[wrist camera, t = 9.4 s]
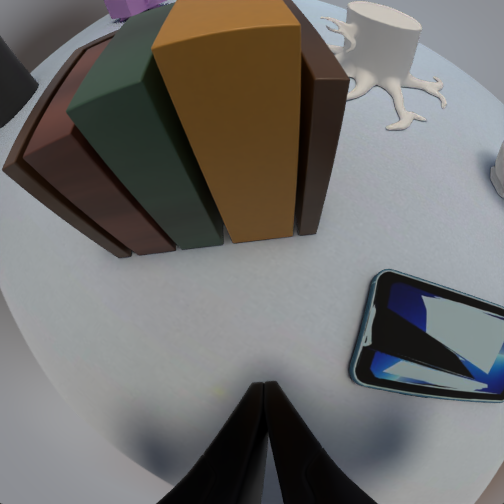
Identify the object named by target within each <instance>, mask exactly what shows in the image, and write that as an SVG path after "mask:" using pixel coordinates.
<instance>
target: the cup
mask: <svg viewBox="0 0 504 504" xmlns="http://www.w3.org/2000/svg"><path fill="white" fill-rule="evenodd" d="M490 179H491V181H492V183H493V185H494V187H495V189H496V191H497V193H498V194H499V195H500V196H501V197H502V198H504V141H503V143H502V145H501V148H500V150H499V153H498V156H497V158H496V161H495V166H492V167H491V172H490Z"/></svg>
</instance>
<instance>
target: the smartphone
mask: <svg viewBox="0 0 504 504" xmlns="http://www.w3.org/2000/svg"><path fill="white" fill-rule="evenodd" d="M349 371H350V376H351V378H352V380H353V381H354V382H355V383H357V384H359V385H361V386H364V387H369V388H374V389H379V390H385V391H389V392H396V393H399V394H404V395H411V396H413V395H415V396H418V397H425V398H428V397H430V398H438V399H447V400H458V401H470V402H489V403H502V402H504V307H503V306H500V305H497V304H495V303H492V302H489V301H486V300H483V299H480V298H477V297H475V296H472V295H469V294H466V293H463V292H460V291H457V290H454V289H451V288H448V287H445V286H442V285H439V284H436V283H433V282H430V281H427V280H424V279H421V278H418V277H415V276H412V275H408V274H405V273H402V272H399V271H396V270H393V269H384V270H382V271H381V272H379V273H378V274H377V275H376V276H375V277H374V278H373V280H372V283H371V288H370V292H369V297H368V301H367V306H366V310H365V314H364V318H363V322H362V326H361V330H360V333H359V337H358V341H357V344H356V348H355V351H354V354H353V358H352V361H351V364H350V370H349Z"/></svg>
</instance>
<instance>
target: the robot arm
mask: <svg viewBox="0 0 504 504" xmlns="http://www.w3.org/2000/svg"><path fill="white" fill-rule="evenodd" d="M268 437H269V438H270V443H271V448H272V452H273V457H274V462H275V466H276V471H277V475H278V480H279V484H280V489H281V493H282V497H283V502H284V504H378V503H376V502H375V501H374V500H373V499H372V498H371V497H370V496H368V495H367V494H366V493H365V492H364V491H363V490H362V489H360V488H359V487H358V486H357V485H356V484H355V483H354V482H353V481H352V480H351V479H349V478H348V477H347V476H346V475H345V474H344V472H343V471H342V470H341V469H340V468H339V467H338V466H337V465H336V464H335V463H334V461H333V460H332V459H331V458H330V456H329V455H328V454H327V452H326V451H325V450H324V448H322V446H321V445H320V443H319V442H318V441H317V439H316V438H315V436H314V435H313V434H312V432H311V431H310V429H309V428H308V427H307V425H306V424H305V422H304V421H303V419H302V418H301V417H300V415H299V414H298V412H297V411H296V409H295V408H294V406H293V405H292V403H291V402H290V400H289V399H288V398H287V396H286V395H285V393H284V392H283V390H282V389H281V387H280V386H279V384H278V383H277V381H267V382H265V383H263V382H256V383H252V384H251V385H250V386H249V388H248V390H247V391H246V393H245V394H244V396H243V397H242V399H241V400H240V402H239V403H238V405H237V406H236V408H235V409H234V411H233V412H232V414H231V415H230V417H229V418H228V420H227V421H226V423H225V424H224V426H223V427H222V428H221V430H220V431H219V433H218V434H217V436H216V437H215V438H214V440H213V441H212V443H211V444H210V445H209V447H208V448H207V449H206V451H205V452H204V455H202V456H201V457H200V458H199V460H198V461H197V463H196V464H195V465H194V466H193V468H192V469H191V470H190V471H189V472H188V474H187V475H186V476H185V477H184V478H183V479H182V480H181V481H180V482H179V483H178V484H177V485H176V486H175V487H174V488H173V489H172V490H171V491H170V492H169V493H168V494H166V495H165V496H164V497H163V498H162V499H161V500H160V501H159V502H158V503H156V504H261V499H262V491H263V483H264V475H265V466H266V457H267V448H268ZM0 504H1V503H0ZM503 504H504V503H503Z"/></svg>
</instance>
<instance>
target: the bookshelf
mask: <svg viewBox="0 0 504 504" xmlns="http://www.w3.org/2000/svg"><path fill="white" fill-rule="evenodd" d="M283 1H284V3H285V4H286V5H287V7H288V8H289V9H290V10H291V12H292V13H293V14H294V16H295V17H296V19H297V20H298V21H299V23H300V24H301V98H300V128H299V150H298V169H297V185H296V200H295V216H296V221H297V227H298V233H299V235H308V234H316V232H317V228H318V224H319V221H320V217H321V213H322V209H323V205H324V201H325V197H326V193H327V189H328V185H329V181H330V176H331V172H332V168H333V163H334V159H335V154H336V150H337V145H338V140H339V136H340V131H341V126H342V121H343V116H344V111H345V105H346V100H347V94H348V89H349V83H350V79H349V77H348V75H347V74H346V72H345V71H344V69H343V68H342V66H341V64H340V63H339V61H338V60H337V58H336V57H335V55H334V54H333V53H332V51H331V50H330V48H329V47H328V45H327V44H326V43H325V41H324V40H323V39H322V37H321V36H320V35H319V33H318V32H317V31H316V29H315V28H314V27H313V25H312V24H311V23H310V22H309V20H308V19H307V18H306V17H305V15H304V14H303V13H302V12H301V11H300V10H299V8H298V7H297V6H296V5H295V4H294V3H293V1H292V0H283ZM174 4H175V3H171V4H168V5H164V6H161V7H158V8H154V9H151V10H148V11H145V12H142V13H140V14H137V15H134V16H131V17H130V18H129V19H128V20H127V21H126V22H125V23H124V24H123V26H122V27H121V28H120V29H119V30H116V31H114V32H112V33H109V34H107V35H105V36H103V37H100V38H98V39H96V40H94V41H92V42H90V43H88V44H86V45H84V46H82V47H80V48H78V49H76V50H75V51H74V52H73V53H72V55H71V56H70V57H69V58H68V60H67V61H66V62H65V63H64V65H63V66H62V67H61V68H60V70H59V71H58V72H57V74H56V75H55V77H54V78H53V79H52V81H51V82H50V84H49V85H48V86H47V88H46V89H45V91H44V92H43V94H42V95H41V97H40V98H39V100H38V102H37V103H36V105H35V106H34V108H33V110H32V111H31V113H30V115H29V116H28V118H27V120H26V122H25V123H24V125H23V127H22V129H21V131H20V133H19V134H18V136H17V138H16V140H15V142H14V144H13V146H12V148H11V151H10V153H9V155H8V157H7V159H6V161H5V164H4V166H3V168H2V171H3V172H4V173H6V174H7V175H8V176H9V177H10V178H11V179H13V180H14V181H15V182H16V183H17V184H19V185H20V186H21V187H22V188H23V189H25V190H26V191H27V192H28V193H30V194H31V195H32V196H33V197H35V198H36V199H37V200H38V201H40V202H41V203H42V204H43V205H45V206H46V207H47V208H49V209H50V210H51V211H53V212H54V213H55V214H57V215H58V216H59V217H61V218H62V219H63V220H65V221H66V222H67V223H69V224H70V225H71V226H73V227H74V228H76V229H77V230H78V231H80V232H81V233H83V234H84V235H85V236H87V237H88V238H90V239H91V240H93V241H94V242H95V243H97V244H98V245H100V246H101V247H103V248H104V249H106V250H107V251H109V252H110V253H112V254H113V255H115V256H116V257H118V258H122V257H129V256H131V250H132V251H133V252H135V253H136V254H137V255H145V254H153V253H160V252H168V251H175V250H176V244H177V245H178V246H179V247H180V248H181V249H182V250H183V249H191V248H199V247H207V246H215V245H222V244H223V223H222V217H221V215H220V212H219V210H218V208H217V205H216V203H215V201H214V198H213V196H212V194H211V192H210V189H209V187H208V185H207V182H206V180H205V178H204V175H203V173H202V171H201V168H200V166H199V164H198V161H197V159H196V157H195V154H194V152H193V150H192V147H191V145H190V142H189V140H188V138H187V135H186V133H185V131H184V128H183V126H182V124H181V121H180V119H179V116H178V114H177V112H176V109H175V107H174V104H173V102H172V100H171V97H170V95H169V92H168V90H167V87H166V85H165V83H164V80H163V78H162V75H161V73H160V70H159V68H158V65H157V63H156V61H155V58H154V56H153V53H152V51H151V47H152V45H153V43H154V41H155V39H156V37H157V35H158V33H159V31H160V29H161V27H162V25H163V23H164V22H165V20H166V18H167V16H168V14H169V13H170V11H171V9H172V7H173V6H174Z"/></svg>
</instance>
